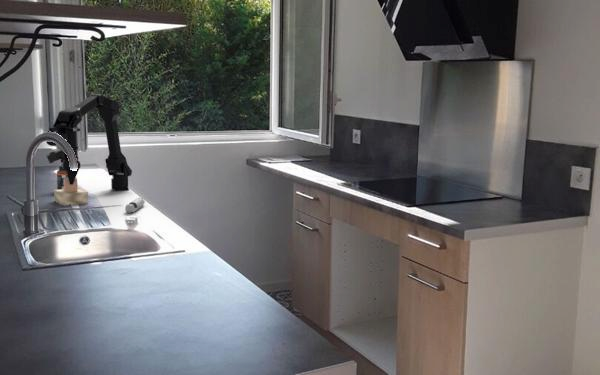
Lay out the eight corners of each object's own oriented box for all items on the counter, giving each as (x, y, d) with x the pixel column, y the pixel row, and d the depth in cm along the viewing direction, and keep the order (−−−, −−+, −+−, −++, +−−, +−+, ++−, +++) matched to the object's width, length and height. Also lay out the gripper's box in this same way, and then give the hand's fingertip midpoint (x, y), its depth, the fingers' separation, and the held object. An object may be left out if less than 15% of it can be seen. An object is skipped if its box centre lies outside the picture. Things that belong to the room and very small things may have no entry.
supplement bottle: (67, 193, 268) (66, 166, 266) (54, 192, 270) (53, 165, 268) (75, 190, 274) (74, 164, 272) (62, 190, 275) (61, 164, 273)
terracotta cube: (76, 189, 253) (76, 177, 252) (77, 191, 249) (77, 178, 248) (64, 190, 251) (63, 177, 250) (65, 192, 247) (64, 179, 246)
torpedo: (135, 214, 233) (135, 197, 232) (122, 214, 233) (122, 196, 232) (148, 205, 250) (148, 188, 249) (136, 204, 251) (136, 188, 250)
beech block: (80, 200, 258) (80, 187, 257) (88, 204, 250) (87, 191, 249) (54, 202, 252) (54, 189, 251) (61, 206, 244) (61, 194, 243)
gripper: (46, 141, 252) (47, 180, 255) (48, 146, 235) (49, 188, 238) (76, 140, 256) (77, 179, 259) (79, 146, 239) (81, 187, 242)
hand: (70, 183), depth 249 cm, fingers open, 6 cm apart
